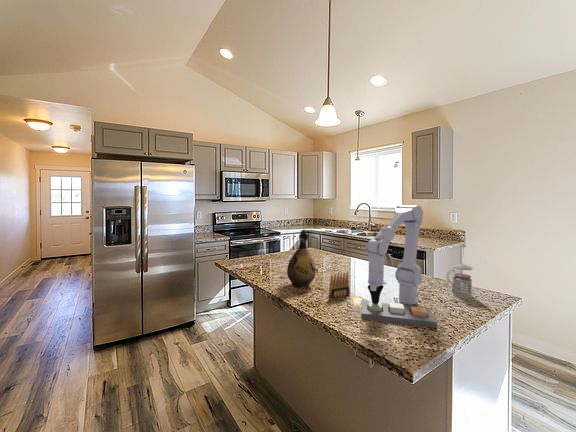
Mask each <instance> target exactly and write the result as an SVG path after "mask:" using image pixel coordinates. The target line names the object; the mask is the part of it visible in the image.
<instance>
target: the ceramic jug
mask: <svg viewBox="0 0 576 432" xmlns="http://www.w3.org/2000/svg"><path fill="white" fill-rule="evenodd" d="M308 238H309V235H308V234H307V230H306V229H302V230H301V231H300V233H299V234H298V239H299V241H300V242H299V245H298V247H297V249H296V250H295V252H294V253H293V254H292V256H291V257H290V259H289V261H288V265H287V267H286V268H287V269H286V270H287V271H286V274H287V278H288V279H289V281H290V283H291V287H292V286H293V287H292V288H296V289H306V288H308V287H309V286H310V284H311V282H313V281H314V279H316V278H315V277H316V274H317V270H316V264H315V261H314V258H313V256H312V255H311V253H310V252H309V250H308V247H307V245H306V242H308Z"/></svg>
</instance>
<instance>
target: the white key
mask: <svg viewBox="0 0 576 432" xmlns="http://www.w3.org/2000/svg"><path fill="white" fill-rule="evenodd" d="M388 304H389V311H390V313H397V314H404V306H403V305H404V304H403V303H396V302H389V303H388Z"/></svg>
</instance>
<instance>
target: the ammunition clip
mask: <svg viewBox="0 0 576 432" xmlns="http://www.w3.org/2000/svg"><path fill="white" fill-rule="evenodd" d="M349 279H350V278H349V273H348V272H346V273H345V272H343V273H342V272H340V274H339V273H337V275H336V273H334V275H333V274H332V273H331V274H330V280H329V281H330V282H329V289H328V299H334V298H335V299H336V298H340V297H346V296H350V286H349V284H350V281H349Z"/></svg>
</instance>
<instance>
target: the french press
mask: <svg viewBox="0 0 576 432" xmlns="http://www.w3.org/2000/svg"><path fill="white" fill-rule="evenodd" d="M461 247H462V248H463V250H462V256H464V253H465V252H464V251H465V250H464V249H465V248H467V245H466V244H464V243H463V244H462V245H461ZM453 268H454V269H453ZM453 268H452V269H449V271H447V273H446V280H447V281H448V283H450V284H451V285H452V289H451V290H452V291H450V292H449V294H450V295H451V296H453V297H456V298H460V297H461V299H473V298H474V296H473V294H472V281H473V280H472V279H471V278H472V276H471V275H469V274H465V273H464V271H472V270H473V269H474V268H473V267H471V266H470V265H468V264H466V263H458V264H455V265H453ZM455 269H456V270H461V272H462V273H456V270H455ZM452 272H453V273H454V274H453V277H452V282H450V278H449V277H450V273H452ZM472 297H473V298H472Z"/></svg>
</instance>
